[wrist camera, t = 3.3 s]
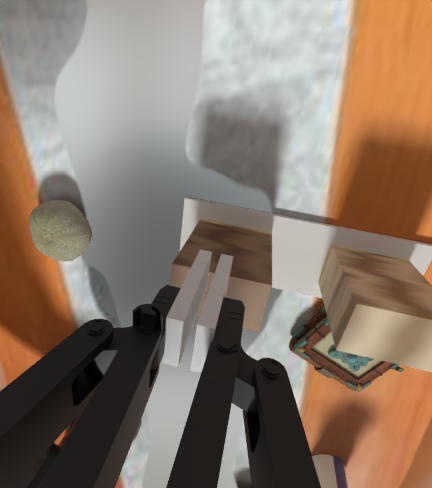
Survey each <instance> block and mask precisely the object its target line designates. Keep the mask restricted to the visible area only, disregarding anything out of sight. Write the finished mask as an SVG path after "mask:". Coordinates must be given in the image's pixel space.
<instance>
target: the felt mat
mask: <svg viewBox="0 0 432 488" xmlns="http://www.w3.org/2000/svg"><path fill="white" fill-rule="evenodd" d="M200 219H204V220H209V221H214V222H219V223H224V224H229V225H234V226H239V227H244V228H249V229H254V230H259V231H264V232H269V233H272V287H273V288H277V289H282V290H286V291H291V292H295V293H300V294H305V295H309V296H314V297H319V298H322V295H321V291H320V287H319V283H318V281H319V279H320V276H321V273H322V270H323V267H324V265H325V262H326V259H327V256H328V253H329V251H330V248H331V245H334V246H339V247H344V248H349V249H354V250H359V251H364V252H369V253H374V254H379V255H384V256H389V257H394V258H399V259H404V260H409V261H410V262H411V263H412V264H413V265H414V266H415V268H416V269H417V270H418V271H419V272H420V273H421V274H422V275H424V273H425V271H426V269H427V268H428V266H429V264H430V262H431V260H432V244H428V243H423V242H418V241H413V240H408V239H403V238H397V237H392V236H387V235H382V234H377V233H372V232H366V231H361V230H356V229H351V228H346V227H341V226H335V225H330V224H325V223H320V222H315V221H310V220H304V219H299V218H294V217H289V216H284V215H279V214H273V213H268V212H263V211H258V210H253V209H248V208H242V207H237V206H232V205H227V204H222V203H216V202H211V201H206V200H201V199H196V198H190V197H186V198H185V201H184V212H183V222H182V232H181V242H180V251H181V249H182V247H183V246H184V244H185V243H186V241H187V239H188V238H189V236H190V235H191V233H192V232H193V230H194V228H195V227H196V225H197V224H198V222H199V220H200Z"/></svg>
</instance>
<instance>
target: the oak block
mask: <svg viewBox="0 0 432 488" xmlns="http://www.w3.org/2000/svg"><path fill="white" fill-rule="evenodd" d="M318 283H319V287H320V291H321V295H322V299H323V302H324V306H325V310H326V314H327V317H328V321H329V325H330V329H331V333H332V336H333V340H334V344H335V348H336V350H338V351H342V352H347V353H351V354H355V355H359V356H364V357H368V358H372V359H377V360H381V361H385V362H390V363H394V364H398V365H403V366H407V367H411V368H416V369H420V370H424V371H429V372H432V286H431V284H430V283H429V282H428V281H427V280H426V279H425V278H424V277H423V275H422V274H421V273H420V272H419V271H418V270H417V269H416V268H415V266H414V265H413V264H412V263H411V262H410V261H409V260H404V259H399V258H394V257H389V256H384V255H379V254H374V253H369V252H364V251H359V250H354V249H349V248H344V247H339V246H334V245H331V248H330V251H329V253H328V256H327V259H326V262H325V265H324V267H323V270H322V273H321V276H320V279H319V281H318Z"/></svg>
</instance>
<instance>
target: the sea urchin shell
mask: <svg viewBox="0 0 432 488" xmlns="http://www.w3.org/2000/svg"><path fill="white" fill-rule="evenodd" d="M29 228H30V232H31V237H32V239H33V242H34V245H35V246H36V248H37V249H38V250H39V251H40V252H42V254H43V255H46V256H48V257H50V258H53V259H54V260H60V261H71V260H74V259H76V258H77V257H78V256H80V255H82V254H83V252H84V251H85V250H86V249H87V247H88V246H89V244H90V240H91V237H92V232H91V228H90V226H89V223H88V221H87V220H86V218H85V217H84V215H83V213H82V212H81V211H80V210H79V209H78V208H77V207H76V206H75V205H74V204H72V203H71V202H69V201H64V200H56V199H55V200H52V201H48V202H44V203H41V204H40V205H39V206H37V207H36V208H34V210H33V211H32V213H31V215H30V221H29Z"/></svg>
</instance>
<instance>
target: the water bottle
mask: <svg viewBox="0 0 432 488" xmlns="http://www.w3.org/2000/svg"><path fill="white" fill-rule="evenodd" d="M312 458H313V462H314V465H315V468H316V472H317V475H318V479H319V482H320V485H321V488H348V484H347V477H346V470H345V465H344V463H343V462H342V461H341V460H340V459H338V458H337V457H334V456H331V455H326V454H318V455H314V456H312Z"/></svg>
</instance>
